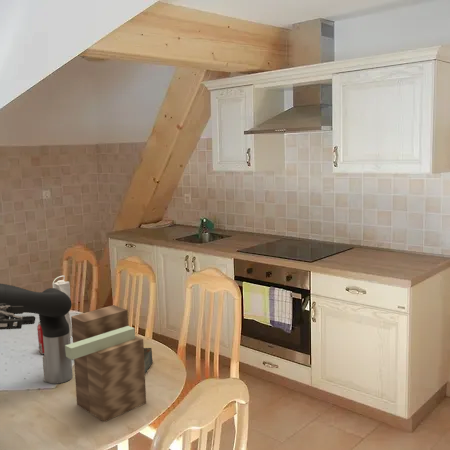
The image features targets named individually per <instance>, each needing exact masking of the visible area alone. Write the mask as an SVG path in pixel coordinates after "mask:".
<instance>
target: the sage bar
mask: <svg viewBox="0 0 450 450" xmlns="http://www.w3.org/2000/svg"><path fill="white" fill-rule="evenodd" d="M135 329H136V328H135V327H132V326H130V325H128V326H126V327H123V328H119V329H116V330H113V331H110V332H107V333H103V334H100V335H97V336H94V337H91V338H87V339H84V340H81V341H78V342H75V343H73V342H70V344H68V345H65V351H66V357H67V358H69V359H71V360H72V361H74V359H76V358H79V357H82V356H85V355H88V354H91V353H94V352H97V351H100V350H103V349H106V348H109V347H112V346H115V345H118V344H121V343H124V342H127V341H130V340H133V339H135V336H136V330H135Z"/></svg>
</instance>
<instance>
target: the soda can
mask: <svg viewBox="0 0 450 450" xmlns="http://www.w3.org/2000/svg"><path fill="white" fill-rule="evenodd" d="M36 327H37V339H38V350H39V352H38V353H40V354H42V355H43V354H44V343H43V332H42V328H41V326H40V321H38V324H37V326H36Z"/></svg>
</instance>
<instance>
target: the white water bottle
mask: <svg viewBox="0 0 450 450" xmlns="http://www.w3.org/2000/svg"><path fill="white" fill-rule="evenodd" d="M62 277H63V279H61V280H60V279H59V278H62ZM58 279H59V280H58ZM65 279H66V275H60V276H56V278H54V280H53V282H52V288H55V289H58V290H60V291H62V292H64V293H65V294H67V295H68V296H69V298H70V299H71V287H70V284H71V283H70V281H66V280H65ZM56 280H57V281H56ZM55 281H56V282H55ZM65 318H66V320H67V322H68V324H69V330H70V338H71V336H72V322H71V315H70V311H69V312H68V313H67V314H66V315H65ZM71 339H72V338H71Z"/></svg>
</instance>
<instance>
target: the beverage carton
mask: <svg viewBox="0 0 450 450" xmlns="http://www.w3.org/2000/svg"><path fill="white" fill-rule="evenodd" d="M152 363H153V351H152V347H144V365H145V374H146V373H147V371H148V370H149V368H150V367H151V365H152Z"/></svg>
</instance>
